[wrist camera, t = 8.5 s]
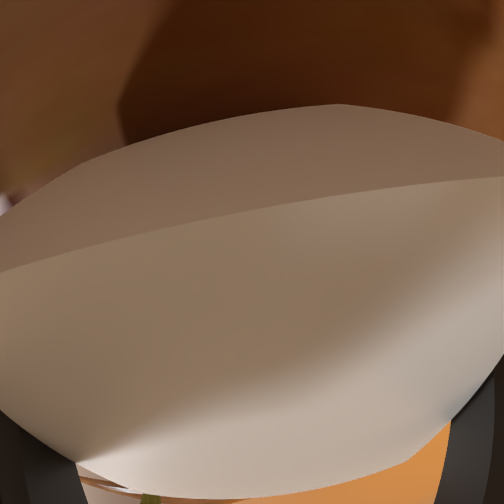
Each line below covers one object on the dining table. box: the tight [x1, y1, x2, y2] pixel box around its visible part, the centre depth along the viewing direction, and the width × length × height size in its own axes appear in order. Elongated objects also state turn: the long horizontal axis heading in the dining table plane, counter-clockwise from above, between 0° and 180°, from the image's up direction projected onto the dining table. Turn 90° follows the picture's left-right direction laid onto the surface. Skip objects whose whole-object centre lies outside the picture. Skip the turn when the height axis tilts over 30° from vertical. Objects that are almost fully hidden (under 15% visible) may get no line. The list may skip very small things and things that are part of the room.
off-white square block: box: [0, 104, 504, 499], centre depth 8 cm, size 10×10×9 cm
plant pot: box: [140, 493, 161, 504], centre depth 57 cm, size 9×9×9 cm
